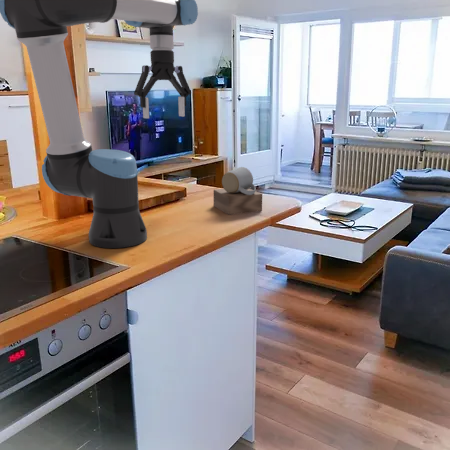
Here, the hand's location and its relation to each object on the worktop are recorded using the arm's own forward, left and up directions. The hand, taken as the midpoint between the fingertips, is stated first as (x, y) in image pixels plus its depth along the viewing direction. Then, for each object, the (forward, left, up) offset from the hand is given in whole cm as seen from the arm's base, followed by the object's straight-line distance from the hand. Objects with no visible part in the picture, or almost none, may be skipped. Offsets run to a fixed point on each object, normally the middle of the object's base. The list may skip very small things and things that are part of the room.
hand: (164, 117), depth 161 cm
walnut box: (+13, -23, -29) cm, 40 cm away
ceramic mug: (+14, -25, -23) cm, 37 cm away
